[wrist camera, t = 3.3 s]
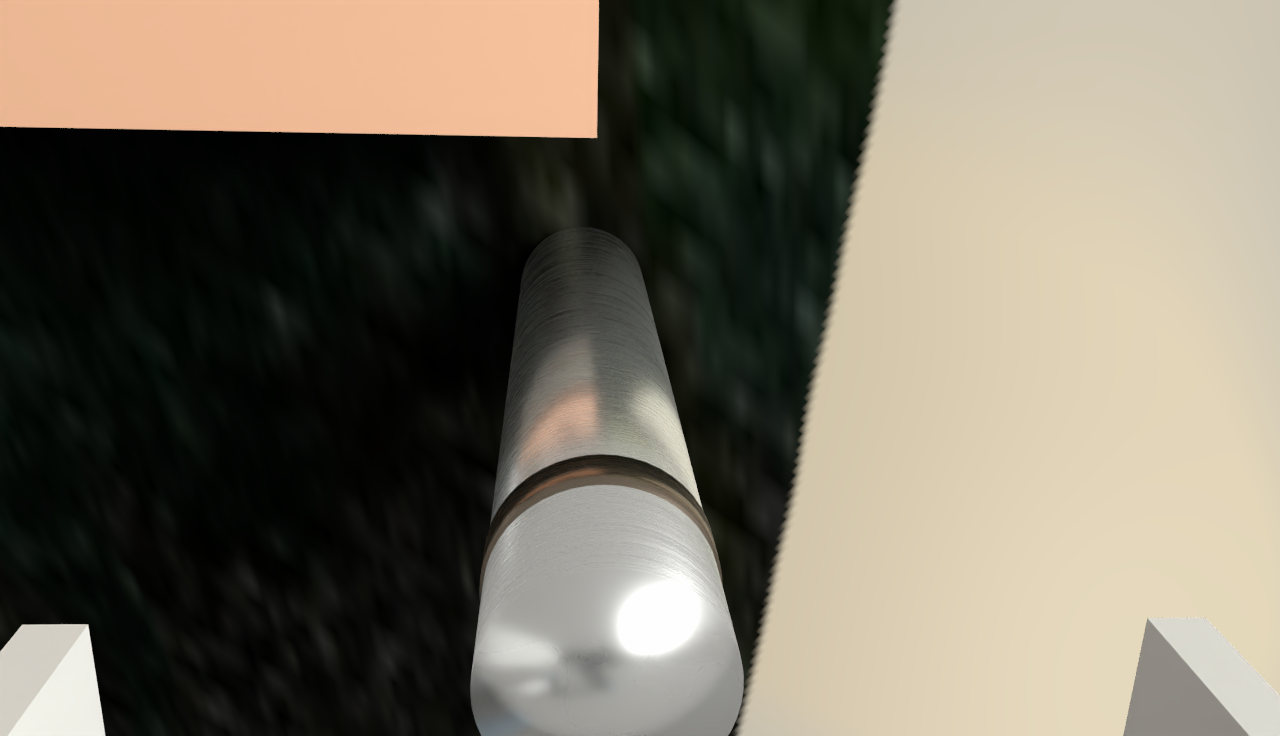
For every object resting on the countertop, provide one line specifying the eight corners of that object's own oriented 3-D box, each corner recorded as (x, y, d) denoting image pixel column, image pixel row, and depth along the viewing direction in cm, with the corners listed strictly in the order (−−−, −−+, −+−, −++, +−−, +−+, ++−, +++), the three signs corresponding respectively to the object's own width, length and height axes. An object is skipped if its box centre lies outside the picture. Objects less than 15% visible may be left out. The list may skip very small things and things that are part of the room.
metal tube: (642, 346, 35) (739, 802, 16) (519, 345, 34) (469, 807, 16) (646, 226, 33) (755, 564, 15) (518, 224, 33) (463, 566, 14)
